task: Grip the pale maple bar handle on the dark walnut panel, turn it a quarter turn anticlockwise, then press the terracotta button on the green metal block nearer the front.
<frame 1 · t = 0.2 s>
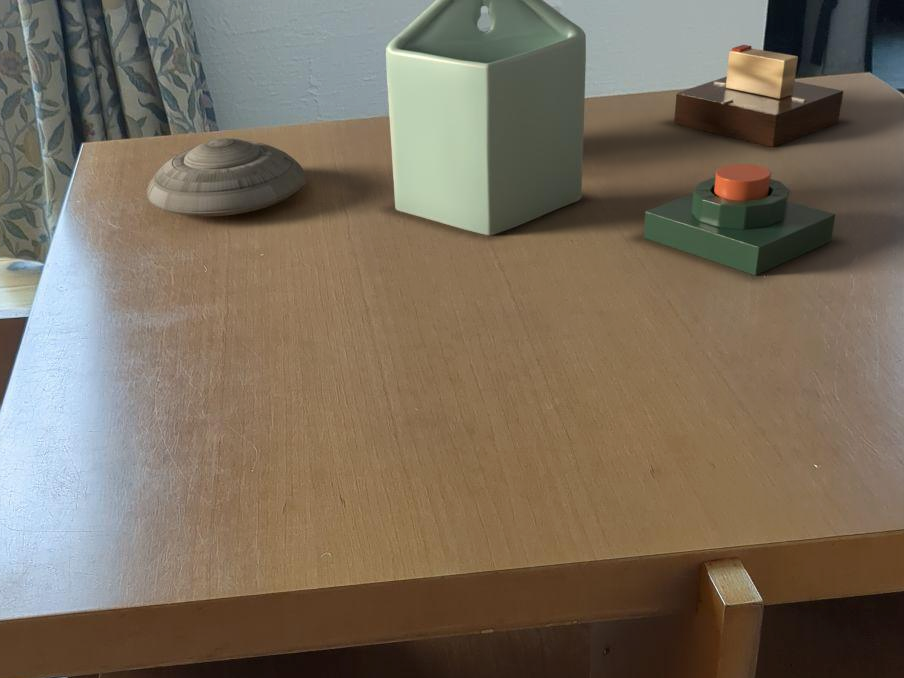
panel: (754, 122, 114), on the table
handle: (761, 71, 111), point 5 cm above the table, hinge at 0.0°
button block: (735, 239, 91), on the table
flying saucer: (229, 201, 108), on the table
button: (742, 183, 88), point 4 cm above the table, slide at 0.1 cm
planter: (489, 220, 99), on the table
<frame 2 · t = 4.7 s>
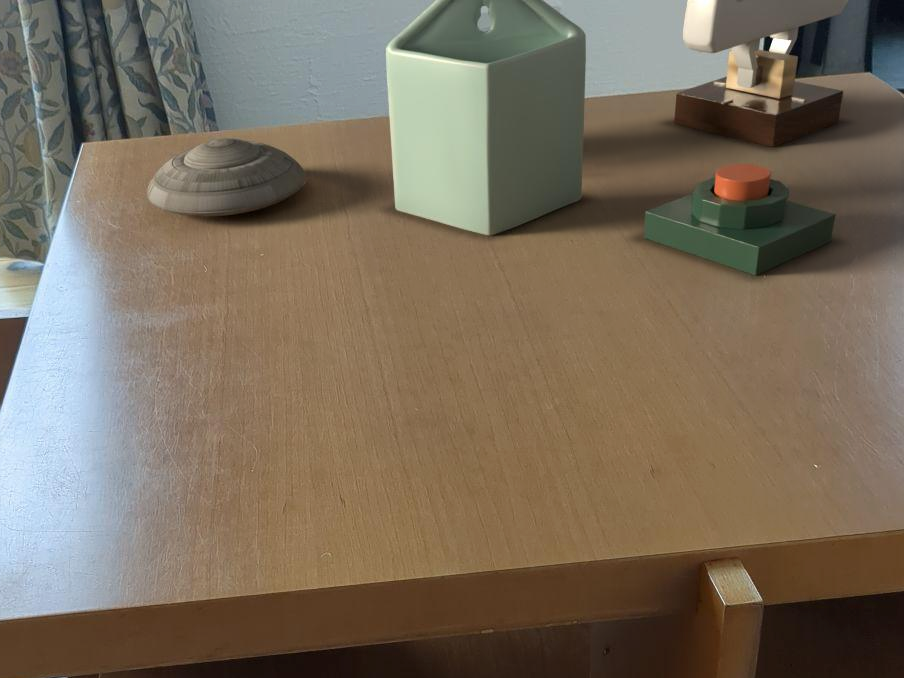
hand: (760, 82, 112), 4 cm above the table, tool pointing down, fingers closed on handle, 2 cm apart
handle: (761, 71, 111), point 5 cm above the table, hinge at -0.1°, touching gripper
everything else where it was.
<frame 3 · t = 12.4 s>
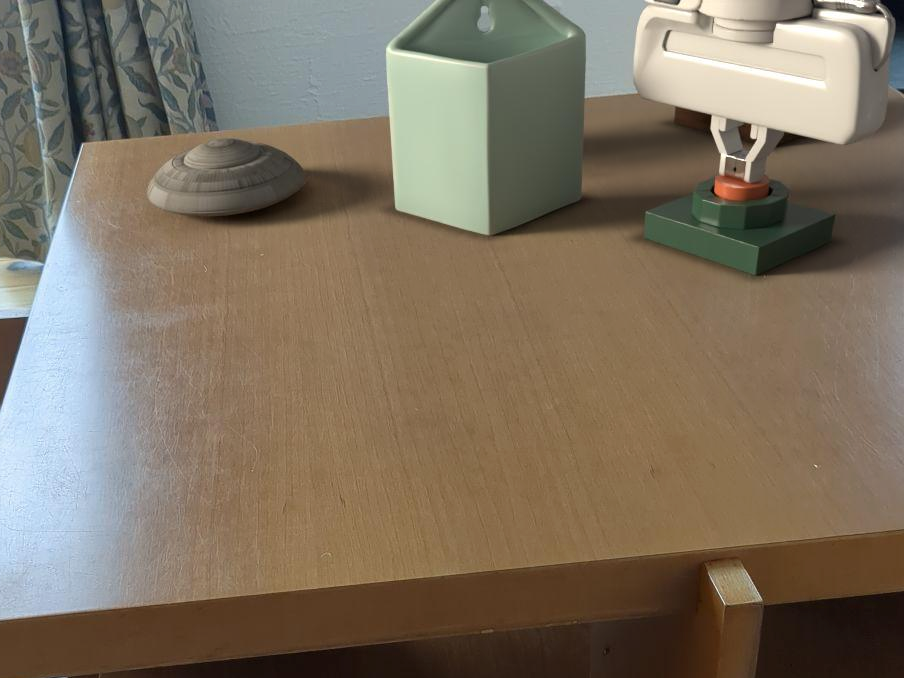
hand: (741, 178, 88), 5 cm above the table, tool pointing down, fingers closed, pressing on button
handle: (761, 71, 111), point 5 cm above the table, hinge at 89.8°
button: (741, 190, 89), point 4 cm above the table, slide at -0.4 cm, touching gripper
everything else where it was.
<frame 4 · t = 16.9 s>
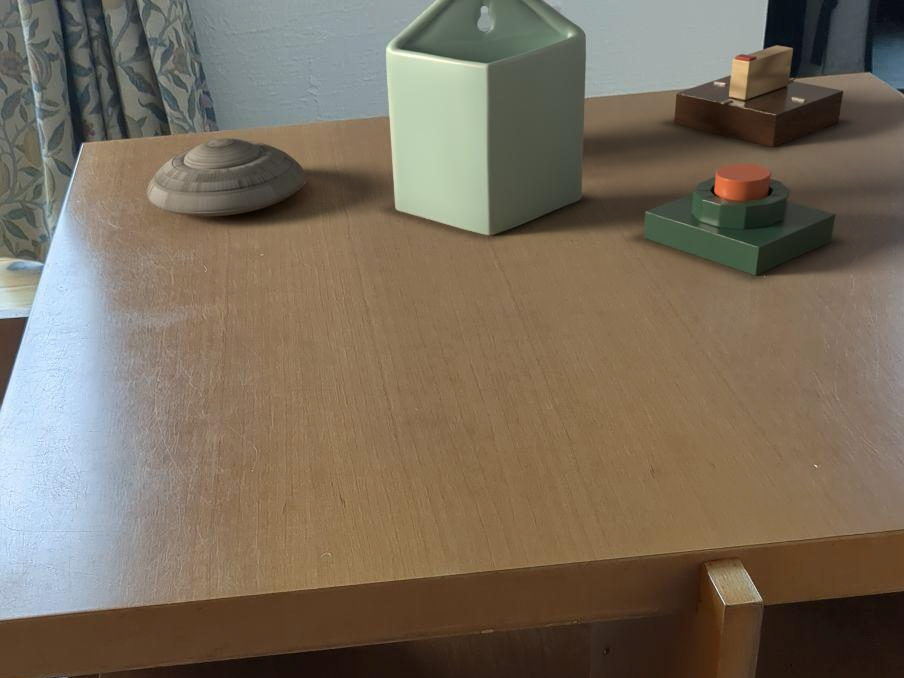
button: (742, 183, 88), point 4 cm above the table, slide at 0.1 cm
everything else where it was.
at the end: handle at +90° (first picture: +0°); button pushed in 1.1 cm at the most during the clip, back to where it started at the end; button slide at 0.1 cm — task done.
